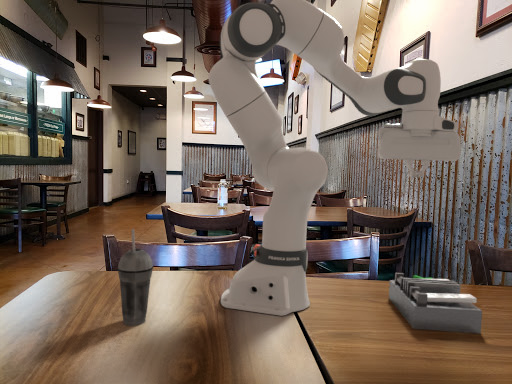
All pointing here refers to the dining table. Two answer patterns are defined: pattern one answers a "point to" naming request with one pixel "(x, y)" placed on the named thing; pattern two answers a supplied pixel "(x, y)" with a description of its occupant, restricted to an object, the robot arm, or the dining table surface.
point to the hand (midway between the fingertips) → (416, 177)
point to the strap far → (431, 279)
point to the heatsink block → (433, 306)
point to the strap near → (448, 297)
